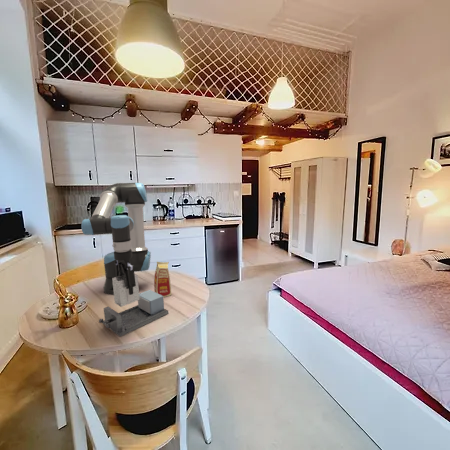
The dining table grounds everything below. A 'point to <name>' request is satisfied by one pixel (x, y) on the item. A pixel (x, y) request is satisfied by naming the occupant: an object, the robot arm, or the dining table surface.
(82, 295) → the dining table surface
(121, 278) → the steel block
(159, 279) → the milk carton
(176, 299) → the dining table surface
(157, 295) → the block
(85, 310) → the dining table surface
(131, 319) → the vise body
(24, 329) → the dining table surface
